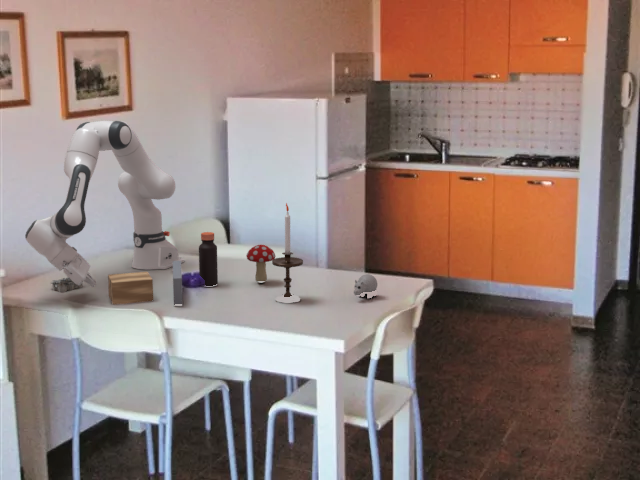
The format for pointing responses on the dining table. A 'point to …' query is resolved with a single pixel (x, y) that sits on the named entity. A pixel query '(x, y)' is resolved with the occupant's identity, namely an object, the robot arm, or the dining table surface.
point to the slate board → (177, 282)
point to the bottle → (208, 259)
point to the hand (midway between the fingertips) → (95, 284)
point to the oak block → (130, 287)
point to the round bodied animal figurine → (365, 284)
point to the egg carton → (64, 285)
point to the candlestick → (287, 256)
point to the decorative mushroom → (260, 260)
